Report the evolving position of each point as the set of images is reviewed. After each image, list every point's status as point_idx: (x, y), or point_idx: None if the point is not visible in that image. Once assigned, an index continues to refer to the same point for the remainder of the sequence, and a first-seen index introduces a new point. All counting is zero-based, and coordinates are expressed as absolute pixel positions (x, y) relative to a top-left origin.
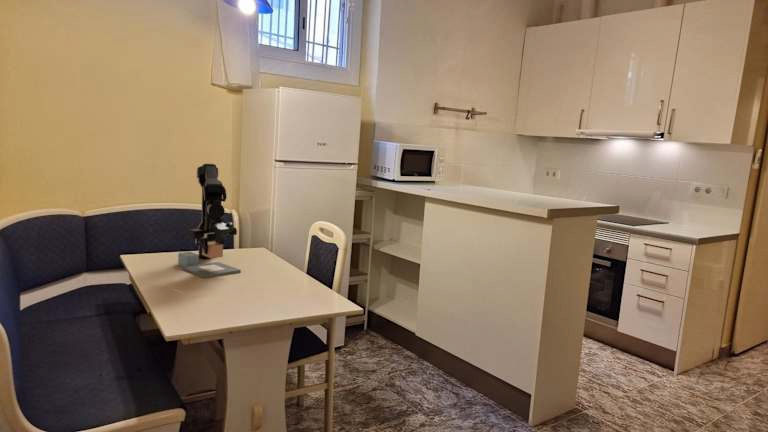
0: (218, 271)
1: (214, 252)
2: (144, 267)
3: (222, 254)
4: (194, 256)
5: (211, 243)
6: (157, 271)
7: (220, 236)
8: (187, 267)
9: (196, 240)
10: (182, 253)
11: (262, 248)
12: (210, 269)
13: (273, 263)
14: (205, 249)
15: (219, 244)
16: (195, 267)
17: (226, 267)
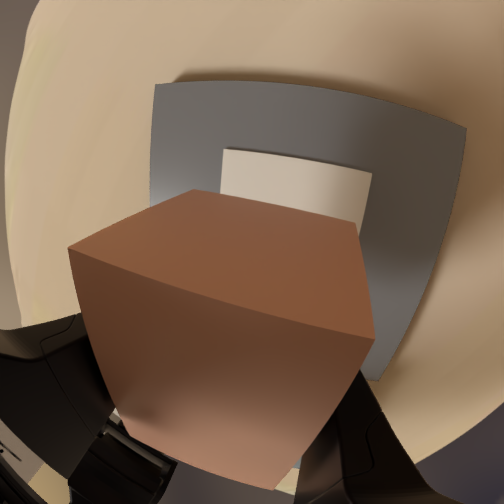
0: (309, 138)
1: (298, 238)
2: (414, 446)
3: (181, 195)
4: None
5: (203, 433)
6: (449, 401)
7: (18, 422)
8: (372, 362)
9: (170, 477)
10: (299, 460)
11: (22, 325)
12: None
13: (17, 170)
14: (362, 379)
15: (113, 308)
16: None
17: None
